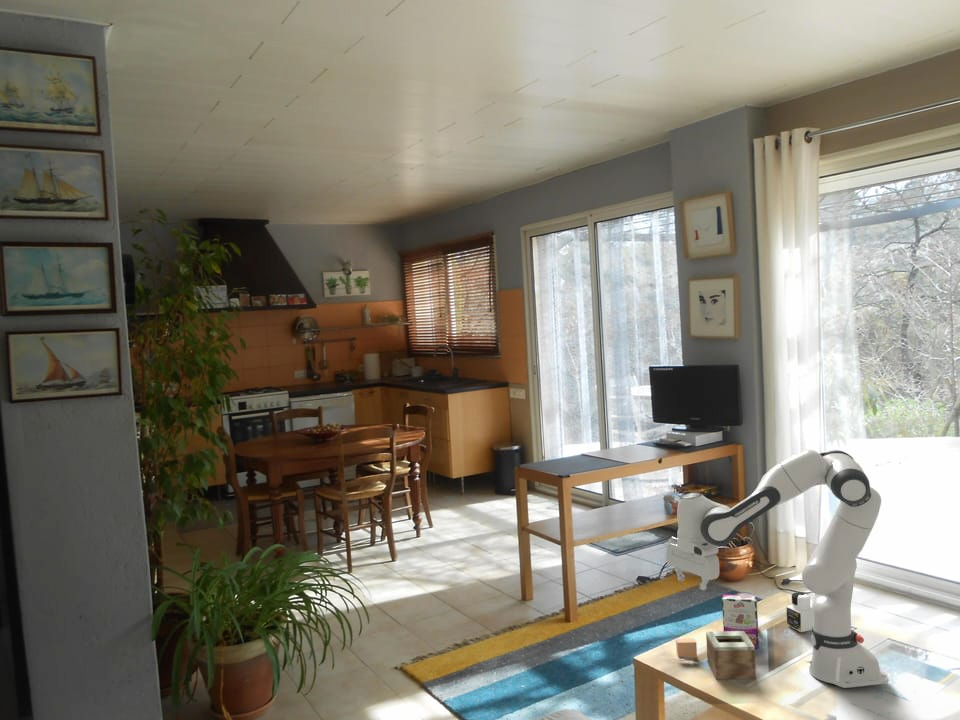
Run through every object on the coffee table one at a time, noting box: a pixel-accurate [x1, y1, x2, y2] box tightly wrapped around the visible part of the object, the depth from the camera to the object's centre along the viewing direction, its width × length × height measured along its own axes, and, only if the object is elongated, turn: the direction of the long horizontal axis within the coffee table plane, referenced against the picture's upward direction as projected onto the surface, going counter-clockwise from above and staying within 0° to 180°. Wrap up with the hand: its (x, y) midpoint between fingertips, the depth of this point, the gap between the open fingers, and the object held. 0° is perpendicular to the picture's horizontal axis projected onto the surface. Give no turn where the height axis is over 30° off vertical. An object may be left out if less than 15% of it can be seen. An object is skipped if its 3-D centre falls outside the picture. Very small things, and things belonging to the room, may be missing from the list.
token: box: [675, 638, 698, 659], centre depth 245 cm, size 6×3×6 cm, turn 85°
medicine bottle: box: [785, 591, 813, 633], centre depth 264 cm, size 7×7×12 cm
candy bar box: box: [721, 594, 760, 649], centre depth 253 cm, size 11×5×16 cm, turn 71°
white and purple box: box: [736, 591, 759, 623], centre depth 263 cm, size 7×7×13 cm
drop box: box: [705, 630, 757, 680], centre depth 235 cm, size 12×12×10 cm
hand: (691, 584), depth 242 cm, fingers open, 8 cm apart
